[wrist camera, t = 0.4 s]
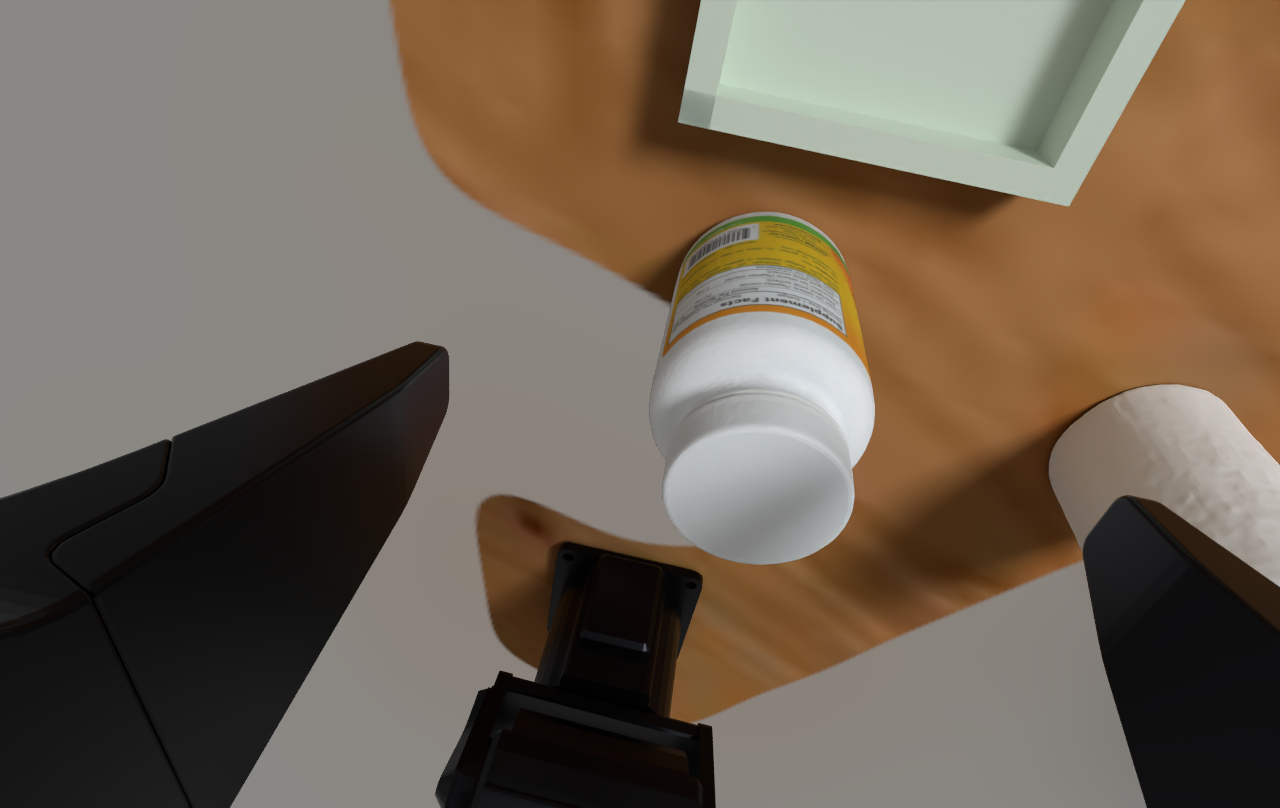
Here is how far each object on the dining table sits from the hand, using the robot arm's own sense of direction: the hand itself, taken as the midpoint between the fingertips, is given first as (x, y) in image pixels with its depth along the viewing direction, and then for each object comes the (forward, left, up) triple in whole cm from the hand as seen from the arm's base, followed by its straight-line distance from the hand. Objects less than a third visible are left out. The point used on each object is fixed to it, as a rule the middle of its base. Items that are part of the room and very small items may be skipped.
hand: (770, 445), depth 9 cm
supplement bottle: (-4, -1, -13) cm, 14 cm away
